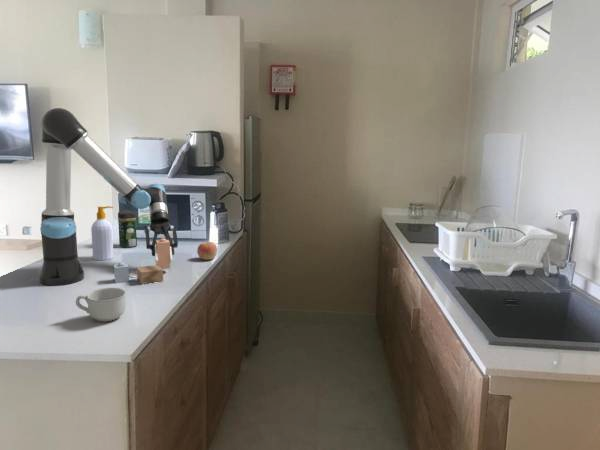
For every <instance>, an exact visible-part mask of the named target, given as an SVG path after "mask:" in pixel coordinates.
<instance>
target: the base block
mask: <svg viewBox="0 0 600 450" xmlns="http://www.w3.org/2000/svg"><path fill="white" fill-rule="evenodd" d="M163 270H164V269H161V268H160V267H159V266H158V265H156V264H155V265H146V266H138V267H136V272H137V277H136V278H137V281H138V282H139V283H140V284H141V286H142V285H143V284H144V285H150V284H149V283H152V284H155V283H154V282H159V283H163V282H164V271H163ZM162 281H163V282H162Z"/></svg>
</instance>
